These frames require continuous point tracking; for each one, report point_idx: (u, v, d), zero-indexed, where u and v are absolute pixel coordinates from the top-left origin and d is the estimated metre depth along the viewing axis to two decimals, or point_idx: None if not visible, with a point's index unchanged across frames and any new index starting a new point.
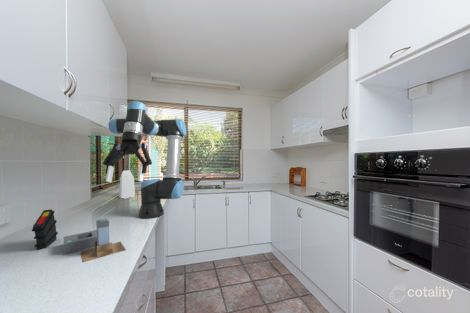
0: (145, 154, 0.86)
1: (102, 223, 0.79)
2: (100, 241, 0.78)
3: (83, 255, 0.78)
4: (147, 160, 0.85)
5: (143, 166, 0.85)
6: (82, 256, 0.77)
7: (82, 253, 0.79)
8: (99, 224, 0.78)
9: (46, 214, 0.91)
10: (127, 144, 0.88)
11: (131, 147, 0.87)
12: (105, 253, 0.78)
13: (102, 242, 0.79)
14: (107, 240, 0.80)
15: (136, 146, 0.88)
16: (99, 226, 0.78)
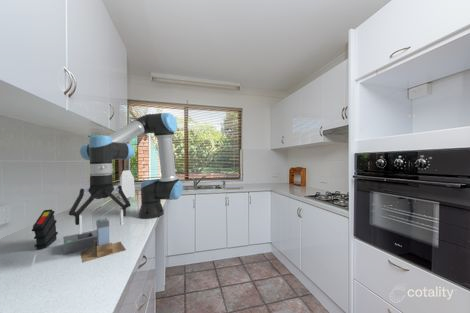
0: (125, 198, 0.85)
1: (102, 223, 0.79)
2: (100, 241, 0.78)
3: (83, 255, 0.78)
4: (128, 204, 0.86)
5: (123, 210, 0.85)
6: (82, 256, 0.77)
7: (82, 253, 0.79)
8: (99, 224, 0.78)
9: (46, 214, 0.91)
10: (99, 188, 0.80)
11: (107, 192, 0.81)
12: (105, 253, 0.78)
13: (102, 242, 0.79)
14: (107, 240, 0.80)
15: (112, 190, 0.82)
16: (99, 226, 0.78)
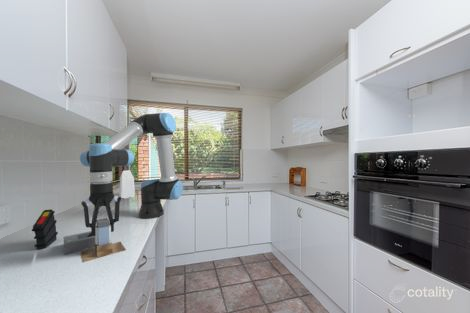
0: (117, 211, 0.83)
1: (102, 223, 0.79)
2: (100, 241, 0.78)
3: (83, 255, 0.78)
4: (117, 218, 0.83)
5: (111, 225, 0.82)
6: (82, 256, 0.77)
7: (82, 253, 0.79)
8: (99, 224, 0.78)
9: (46, 214, 0.91)
10: (98, 194, 0.79)
11: (106, 201, 0.81)
12: (105, 253, 0.78)
13: (102, 242, 0.79)
14: (107, 240, 0.80)
15: (111, 198, 0.82)
16: (99, 226, 0.78)
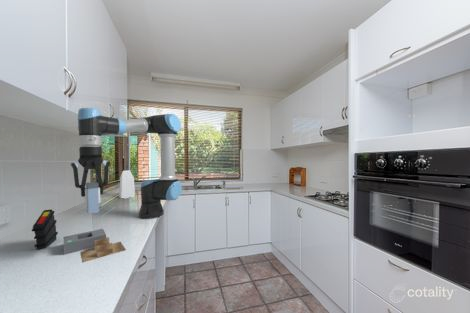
0: (106, 174, 0.87)
1: (91, 184, 0.82)
2: (90, 201, 0.82)
3: (83, 255, 0.78)
4: (106, 181, 0.87)
5: (101, 188, 0.86)
6: (82, 256, 0.77)
7: (82, 253, 0.79)
8: (88, 185, 0.82)
9: (46, 214, 0.91)
10: (87, 156, 0.83)
11: (96, 164, 0.84)
12: (105, 253, 0.78)
13: (91, 202, 0.82)
14: (96, 201, 0.83)
15: (100, 161, 0.86)
16: (88, 187, 0.82)
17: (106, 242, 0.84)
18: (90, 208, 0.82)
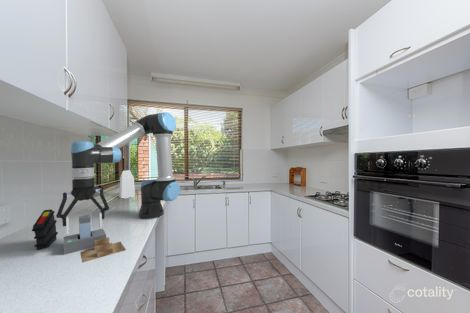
0: (104, 201, 0.91)
1: (83, 219, 0.85)
2: (81, 236, 0.84)
3: (83, 255, 0.78)
4: (107, 207, 0.91)
5: (102, 213, 0.91)
6: (82, 256, 0.77)
7: (82, 253, 0.79)
8: (81, 220, 0.84)
9: (46, 214, 0.91)
10: (81, 190, 0.86)
11: (89, 194, 0.87)
12: (105, 253, 0.78)
13: (83, 237, 0.85)
14: (88, 235, 0.86)
15: (93, 192, 0.88)
16: (81, 222, 0.84)
17: (106, 242, 0.84)
18: None
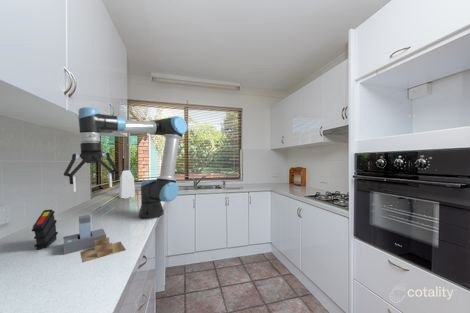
0: (112, 163, 0.98)
1: (83, 219, 0.85)
2: (81, 236, 0.84)
3: (83, 255, 0.78)
4: (116, 168, 0.99)
5: (112, 174, 0.98)
6: (82, 256, 0.77)
7: (82, 253, 0.79)
8: (81, 220, 0.84)
9: (46, 214, 0.91)
10: (89, 154, 0.92)
11: (96, 157, 0.93)
12: (105, 253, 0.78)
13: (83, 237, 0.85)
14: (88, 235, 0.86)
15: (100, 156, 0.95)
16: (81, 222, 0.84)
17: (106, 242, 0.84)
18: None
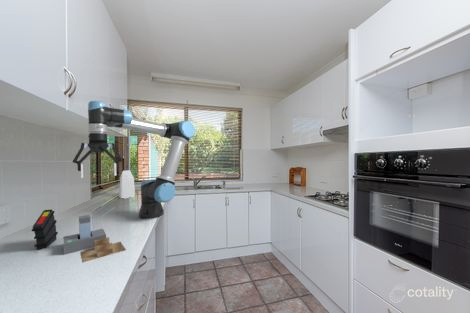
0: (117, 153, 1.05)
1: (83, 219, 0.85)
2: (81, 236, 0.84)
3: (83, 255, 0.78)
4: (120, 159, 1.06)
5: (116, 163, 1.05)
6: (82, 256, 0.77)
7: (82, 253, 0.79)
8: (81, 220, 0.84)
9: (46, 214, 0.91)
10: (96, 144, 0.99)
11: (103, 147, 1.00)
12: (105, 253, 0.78)
13: (83, 237, 0.85)
14: (88, 235, 0.86)
15: (106, 146, 1.02)
16: (81, 222, 0.84)
17: (106, 242, 0.84)
18: None
